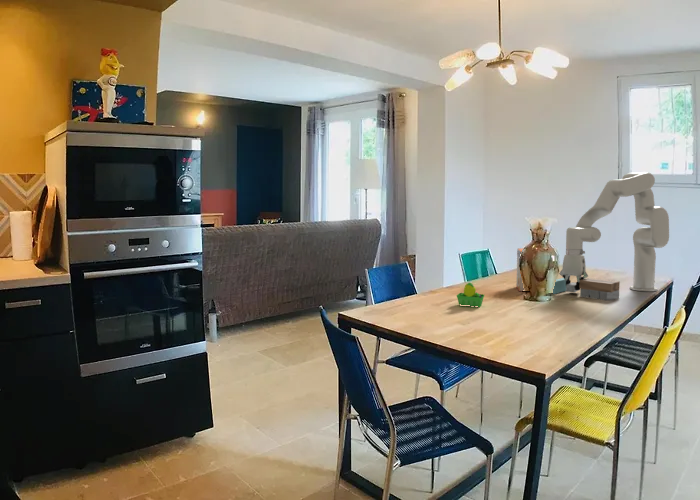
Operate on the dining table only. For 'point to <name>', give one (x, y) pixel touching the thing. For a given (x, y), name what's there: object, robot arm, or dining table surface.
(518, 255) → the cracker box
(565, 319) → the dining table surface
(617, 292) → the bar
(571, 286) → the bar
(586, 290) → the bar
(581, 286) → the board
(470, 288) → the fruit basket
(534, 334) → the dining table surface
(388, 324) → the dining table surface
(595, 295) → the bar
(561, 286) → the block
